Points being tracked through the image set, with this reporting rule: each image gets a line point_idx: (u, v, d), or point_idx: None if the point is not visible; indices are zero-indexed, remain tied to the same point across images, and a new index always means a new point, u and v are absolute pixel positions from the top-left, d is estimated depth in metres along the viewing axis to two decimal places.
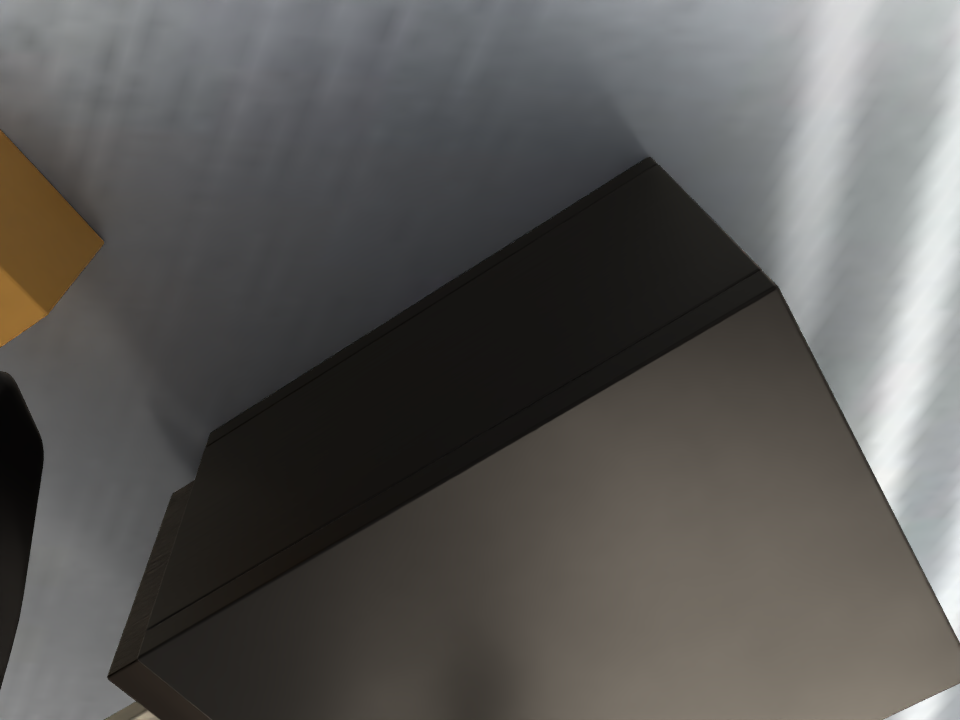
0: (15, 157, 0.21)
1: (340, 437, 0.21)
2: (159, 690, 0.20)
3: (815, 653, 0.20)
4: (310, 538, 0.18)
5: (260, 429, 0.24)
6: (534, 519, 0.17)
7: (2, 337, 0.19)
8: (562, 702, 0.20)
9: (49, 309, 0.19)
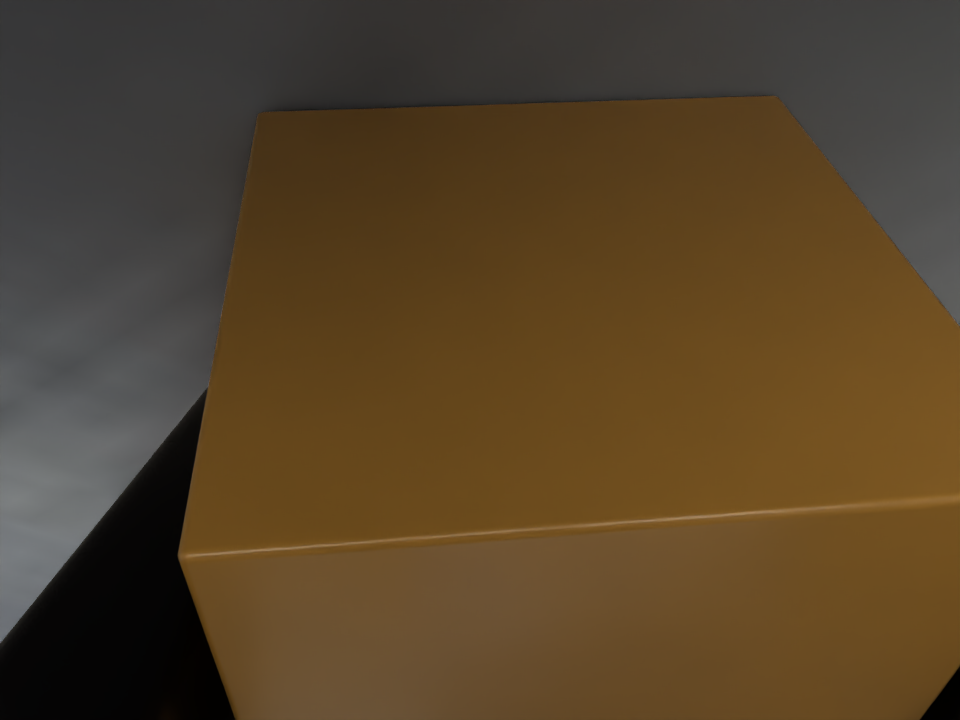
0: None
1: None
2: None
3: None
4: None
5: None
6: None
7: (431, 564, 0.04)
8: None
9: (182, 531, 0.04)
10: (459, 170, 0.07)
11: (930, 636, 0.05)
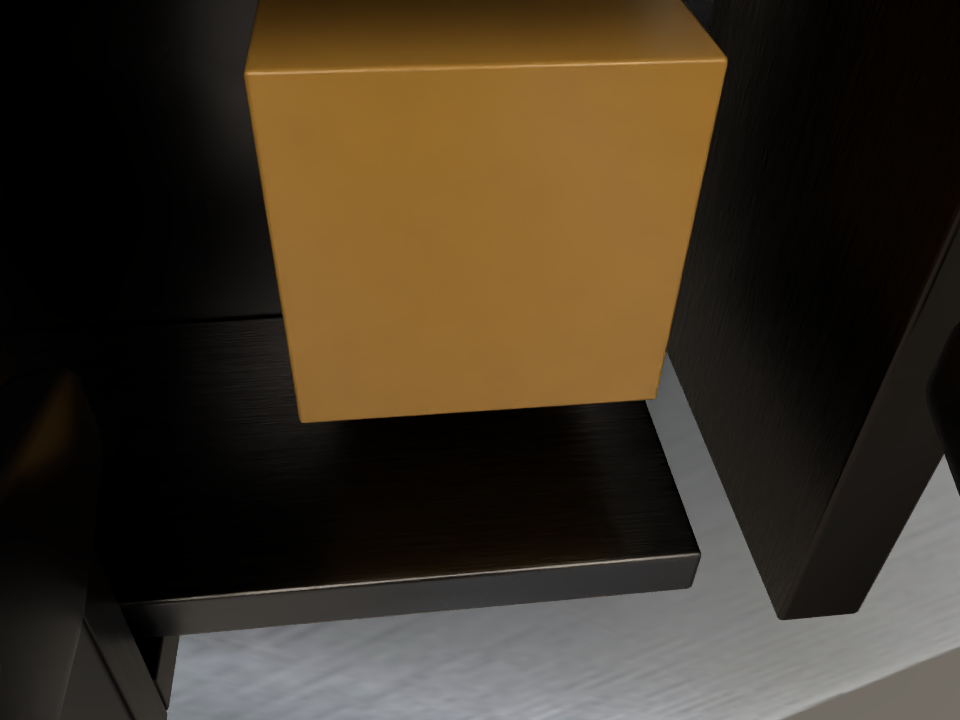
0: None
1: None
2: (833, 579, 0.12)
3: None
4: None
5: None
6: None
7: (375, 86, 0.08)
8: None
9: (245, 67, 0.08)
10: None
11: (666, 181, 0.09)
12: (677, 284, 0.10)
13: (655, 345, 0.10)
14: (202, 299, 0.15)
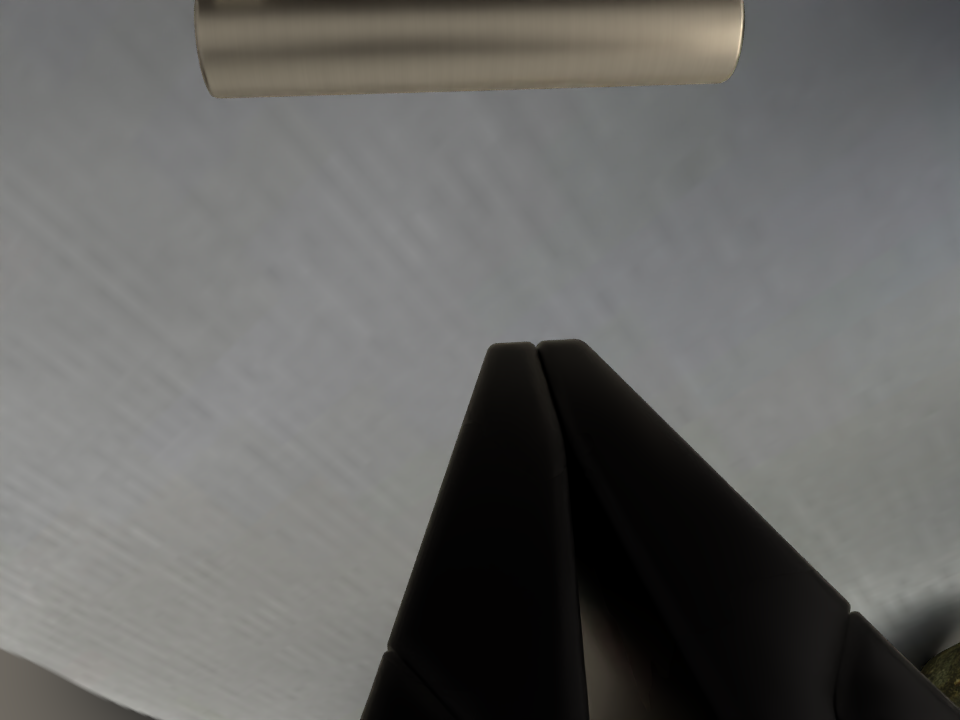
0: None
1: None
2: None
3: None
4: None
5: None
6: None
7: None
8: None
9: None
10: None
11: None
12: None
13: None
14: None
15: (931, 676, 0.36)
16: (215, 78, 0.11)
